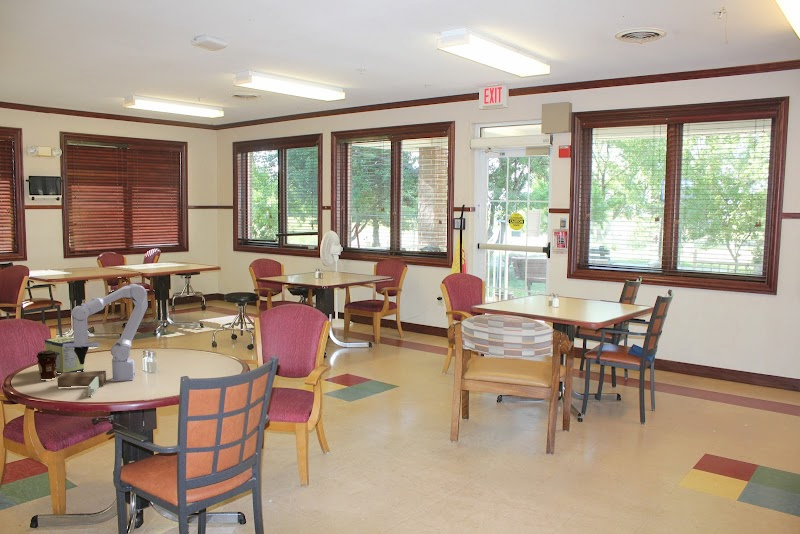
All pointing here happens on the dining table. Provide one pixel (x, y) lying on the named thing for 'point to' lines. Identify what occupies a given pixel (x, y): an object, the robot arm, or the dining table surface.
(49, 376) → the coffee cup
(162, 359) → the dining table surface
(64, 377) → the walnut box
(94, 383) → the pale green bar
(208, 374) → the dining table surface
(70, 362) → the protein box
